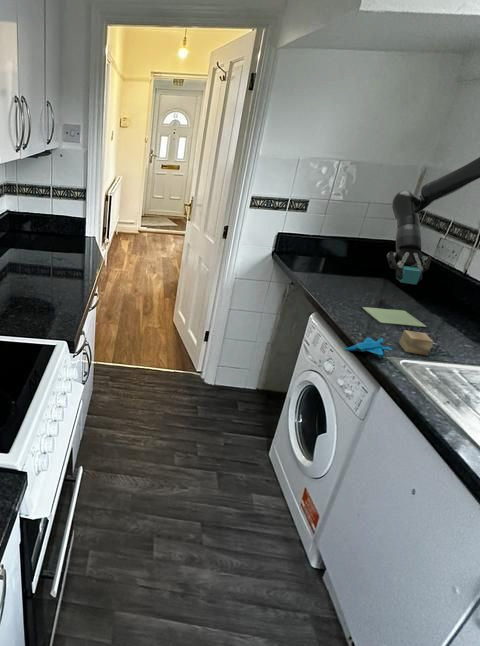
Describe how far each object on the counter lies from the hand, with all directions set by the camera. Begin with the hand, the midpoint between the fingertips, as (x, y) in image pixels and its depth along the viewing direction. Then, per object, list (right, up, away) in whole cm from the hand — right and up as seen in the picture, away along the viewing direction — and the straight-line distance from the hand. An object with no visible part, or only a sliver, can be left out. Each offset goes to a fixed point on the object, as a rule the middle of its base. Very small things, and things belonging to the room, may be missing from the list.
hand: (409, 279), depth 148 cm
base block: (-10, -23, -15) cm, 30 cm away
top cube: (0, 0, +2) cm, 2 cm away
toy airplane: (-28, -24, -19) cm, 41 cm away
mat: (0, -14, +8) cm, 16 cm away
